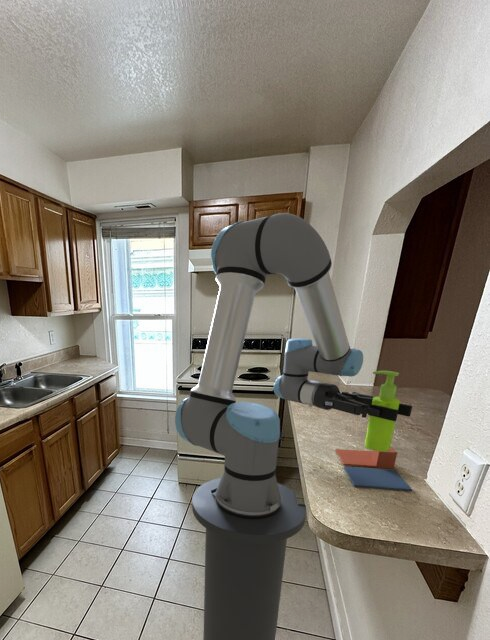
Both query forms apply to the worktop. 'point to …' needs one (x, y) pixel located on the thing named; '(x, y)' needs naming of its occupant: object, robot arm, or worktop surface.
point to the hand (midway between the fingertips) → (403, 413)
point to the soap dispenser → (378, 427)
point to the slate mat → (377, 478)
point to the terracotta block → (384, 458)
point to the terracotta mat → (357, 458)
